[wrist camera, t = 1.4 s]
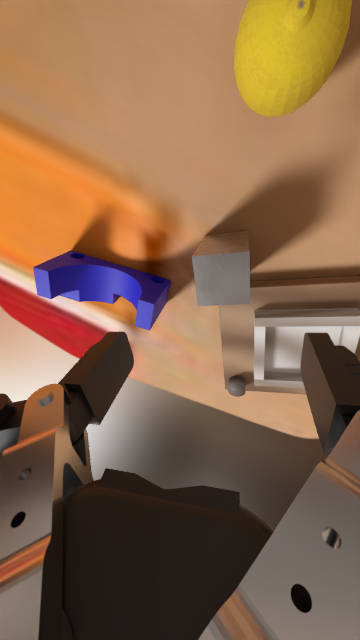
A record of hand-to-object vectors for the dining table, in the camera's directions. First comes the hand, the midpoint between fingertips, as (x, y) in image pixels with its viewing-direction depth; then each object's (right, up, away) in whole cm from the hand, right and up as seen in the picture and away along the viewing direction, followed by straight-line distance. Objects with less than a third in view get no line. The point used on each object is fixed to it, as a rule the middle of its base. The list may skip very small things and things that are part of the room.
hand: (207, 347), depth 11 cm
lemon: (+5, +18, +6) cm, 20 cm away
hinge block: (+3, +8, +12) cm, 15 cm away
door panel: (+12, -1, +15) cm, 19 cm away
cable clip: (-8, +6, +17) cm, 20 cm away
